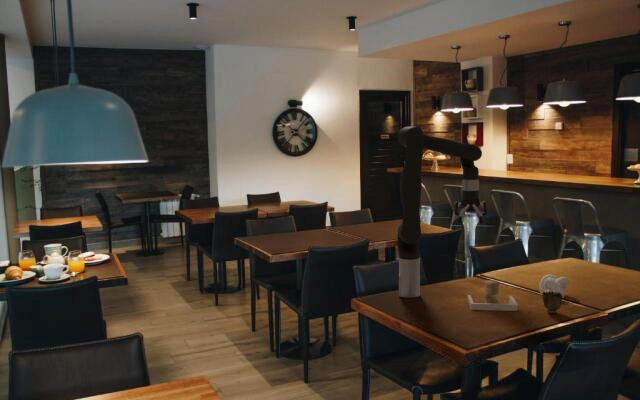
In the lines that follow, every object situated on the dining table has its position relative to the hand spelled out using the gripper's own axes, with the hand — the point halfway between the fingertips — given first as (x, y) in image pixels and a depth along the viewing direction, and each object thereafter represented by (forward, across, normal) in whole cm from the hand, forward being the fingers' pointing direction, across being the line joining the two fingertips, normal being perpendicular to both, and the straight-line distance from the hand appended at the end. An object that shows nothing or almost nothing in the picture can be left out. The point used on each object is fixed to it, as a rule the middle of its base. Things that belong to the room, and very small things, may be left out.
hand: (470, 224), depth 265 cm
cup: (+30, +28, -36) cm, 55 cm away
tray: (+30, +6, -28) cm, 41 cm away
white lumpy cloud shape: (+30, +34, -11) cm, 47 cm away
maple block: (+30, +6, -27) cm, 41 cm away
